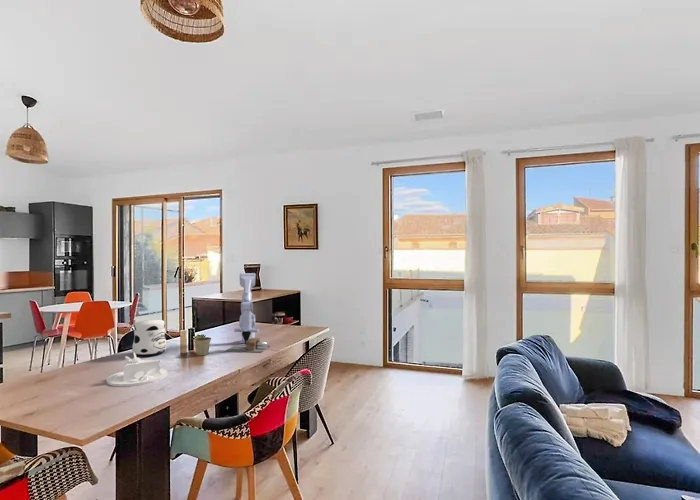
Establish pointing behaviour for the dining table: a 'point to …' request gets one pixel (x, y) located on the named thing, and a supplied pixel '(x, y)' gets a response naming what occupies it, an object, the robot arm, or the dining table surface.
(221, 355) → the dining table surface
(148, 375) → the dish
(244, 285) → the robot arm
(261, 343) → the pin
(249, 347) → the hitch block
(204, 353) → the flower pot
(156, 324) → the milk container
